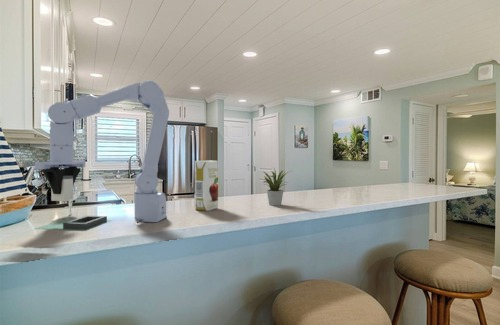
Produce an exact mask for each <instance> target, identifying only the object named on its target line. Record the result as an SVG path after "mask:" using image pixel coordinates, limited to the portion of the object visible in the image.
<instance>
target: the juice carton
mask: <svg viewBox="0 0 500 325" xmlns="http://www.w3.org/2000/svg"><path fill="white" fill-rule="evenodd" d="M218 208H219V161H218V160H195V161H194V210H196V211H203V212H204V211H205V212H209V211H212V210H216V209H218Z"/></svg>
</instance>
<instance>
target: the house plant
mask: <svg viewBox="0 0 500 325" xmlns="http://www.w3.org/2000/svg"><path fill="white" fill-rule="evenodd" d="M273 170H274V171H272V170H270V172H271V173H272V178H271V176H270V175H269V174H268V173H267V172H265V171H262V173H264V174H265V175H264V176H263V177H264V180H263V185H264V186H265V185H266V186H267V187H269V189H266V194H267V200H268V205H269V206H272V207H273V206H274V207H278V206H279V207H280V206H281V205H282V204H283V203H282V201H283V195H284V190H283V189H280V188H281V187H282V186H284V184H285V183H288V182H286V181H285V182H284V184H283V181H284V177H285V176H286V175H287V174H289V173H290V172H292V170H289V171H287V172H286V171H285V169H283V170H281V171H279V173H278V175H277V173H276V169H275V168H273Z"/></svg>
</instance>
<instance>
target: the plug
mask: <svg viewBox="0 0 500 325" xmlns="http://www.w3.org/2000/svg"><path fill="white" fill-rule="evenodd" d="M50 190H51V191H50V192H51V193H50V194H51V196H50V199H51V200H50V201H52V202H54V201H55V202H66V201H67V202H69V201H68V200H73V176H63V179H62V190H61V194H53V191H52V188H51V187H50ZM73 201H74V200H73Z"/></svg>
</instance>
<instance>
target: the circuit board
mask: <svg viewBox="0 0 500 325" xmlns="http://www.w3.org/2000/svg"><path fill="white" fill-rule="evenodd" d="M112 221H113V219H108V216H107V215H106V216H105V215H85V216H81V217H79V218H65V219H63V220H62V219H61V220H59V221H56V222H53V223H49V224H45V225H42V226H38V227H35V228H34V230H57V231H58V230H62V231H88V230H91V229H93V228H96V227H99V226H101V225H104V224H107V223H110V222H112Z"/></svg>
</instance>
